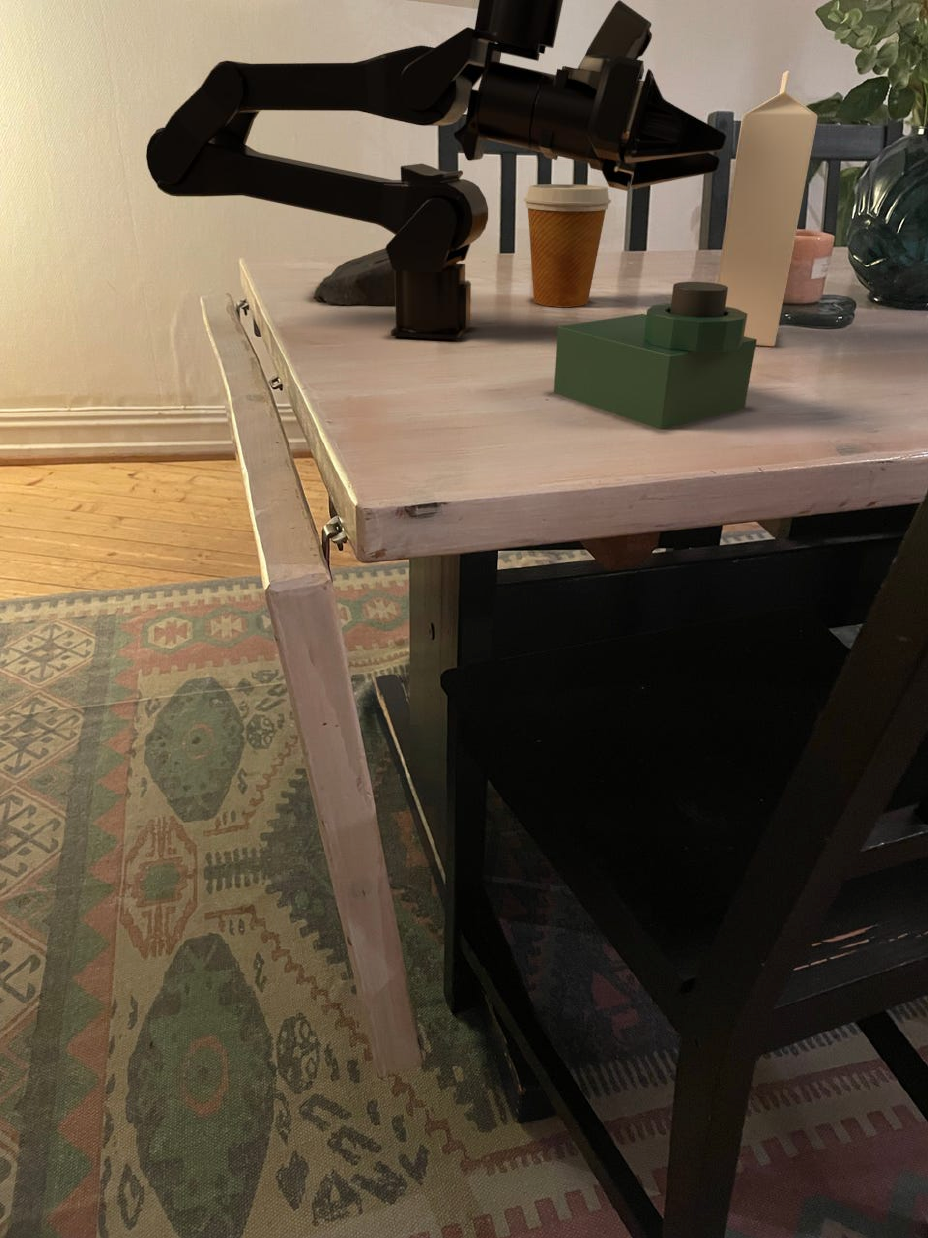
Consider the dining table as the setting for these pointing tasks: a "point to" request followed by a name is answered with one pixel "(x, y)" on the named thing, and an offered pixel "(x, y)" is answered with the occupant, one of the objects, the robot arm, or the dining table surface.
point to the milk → (765, 210)
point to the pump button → (698, 299)
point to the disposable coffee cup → (564, 240)
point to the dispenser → (657, 365)
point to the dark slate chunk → (360, 282)
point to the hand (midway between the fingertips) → (721, 154)
